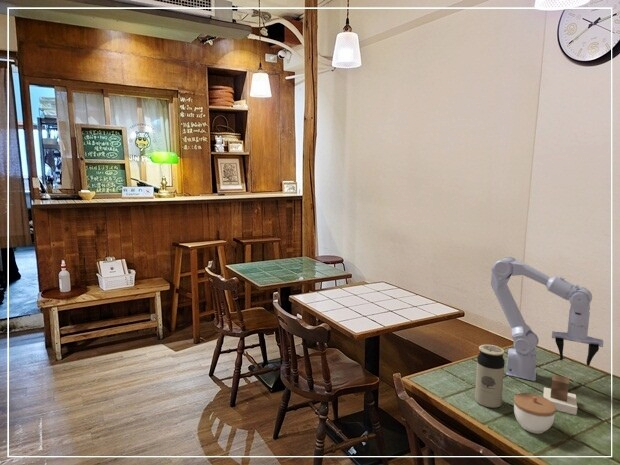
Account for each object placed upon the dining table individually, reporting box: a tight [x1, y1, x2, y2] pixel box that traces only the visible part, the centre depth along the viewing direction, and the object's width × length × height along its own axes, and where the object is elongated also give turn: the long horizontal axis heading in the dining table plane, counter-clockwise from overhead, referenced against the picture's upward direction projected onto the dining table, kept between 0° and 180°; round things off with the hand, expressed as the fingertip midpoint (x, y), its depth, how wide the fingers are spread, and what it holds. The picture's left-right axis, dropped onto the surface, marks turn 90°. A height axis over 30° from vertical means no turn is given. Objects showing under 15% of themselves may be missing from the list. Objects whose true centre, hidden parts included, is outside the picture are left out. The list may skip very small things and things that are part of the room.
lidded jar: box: [513, 392, 557, 435], centre depth 118 cm, size 11×11×9 cm
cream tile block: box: [542, 386, 578, 416], centre depth 130 cm, size 9×9×3 cm
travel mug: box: [474, 344, 506, 409], centre depth 130 cm, size 8×8×18 cm
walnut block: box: [550, 374, 570, 402], centre depth 130 cm, size 4×4×6 cm
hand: (574, 361), depth 139 cm, fingers open, 7 cm apart
